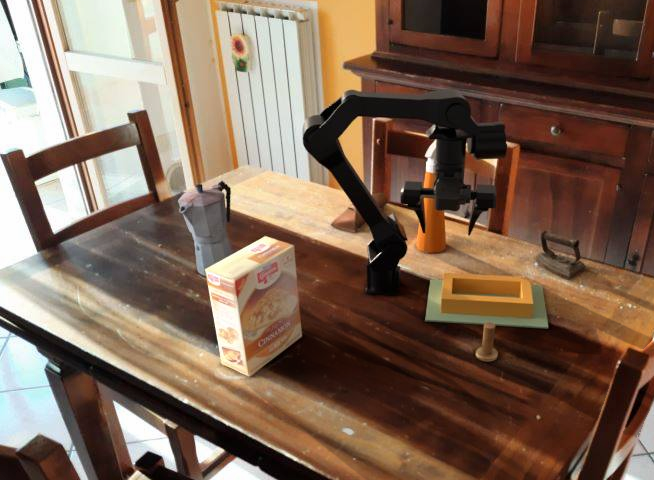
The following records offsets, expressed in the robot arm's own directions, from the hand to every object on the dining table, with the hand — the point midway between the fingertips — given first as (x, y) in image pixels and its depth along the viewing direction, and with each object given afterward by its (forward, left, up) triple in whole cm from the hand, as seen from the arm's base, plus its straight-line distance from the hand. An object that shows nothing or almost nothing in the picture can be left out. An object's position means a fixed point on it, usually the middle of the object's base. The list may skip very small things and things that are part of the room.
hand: (446, 233), depth 134 cm
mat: (+9, -7, -12) cm, 17 cm away
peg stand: (+9, -25, -12) cm, 29 cm away
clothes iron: (+25, +11, -12) cm, 30 cm away
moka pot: (-51, +2, -12) cm, 52 cm away
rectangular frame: (+9, -7, -12) cm, 16 cm away
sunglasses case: (-23, +32, -12) cm, 42 cm away
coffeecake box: (-32, -28, -12) cm, 44 cm away
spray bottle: (-3, +19, -12) cm, 23 cm away
